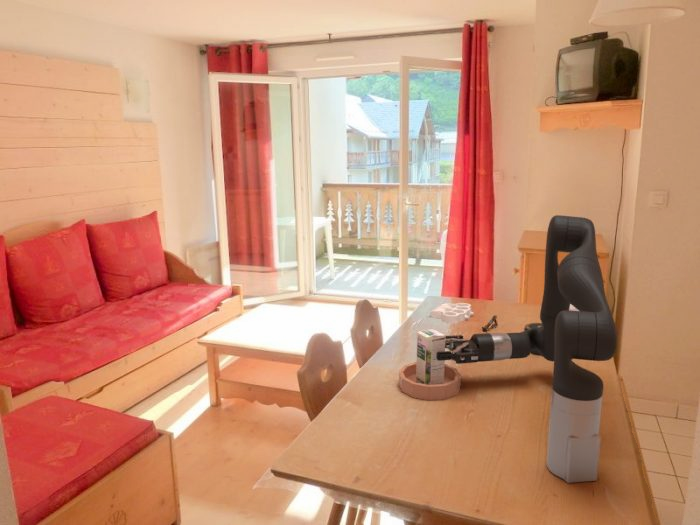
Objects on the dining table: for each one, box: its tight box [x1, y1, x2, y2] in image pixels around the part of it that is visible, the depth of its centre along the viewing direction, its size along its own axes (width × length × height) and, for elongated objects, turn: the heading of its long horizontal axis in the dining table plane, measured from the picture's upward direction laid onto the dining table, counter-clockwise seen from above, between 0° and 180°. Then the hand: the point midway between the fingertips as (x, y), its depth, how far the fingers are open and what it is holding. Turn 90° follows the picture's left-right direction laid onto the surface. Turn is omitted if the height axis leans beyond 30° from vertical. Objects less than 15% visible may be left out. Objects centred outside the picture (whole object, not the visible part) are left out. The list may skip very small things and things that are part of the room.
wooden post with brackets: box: [481, 314, 499, 333], centre depth 193 cm, size 2×8×4 cm, turn 133°
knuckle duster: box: [428, 302, 475, 325], centre depth 208 cm, size 3×18×15 cm
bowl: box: [398, 361, 461, 401], centre depth 148 cm, size 16×16×4 cm
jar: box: [523, 322, 544, 356], centre depth 172 cm, size 10×10×8 cm
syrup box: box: [416, 328, 447, 385], centre depth 147 cm, size 6×6×14 cm
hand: (432, 350), depth 146 cm, fingers open, 8 cm apart
